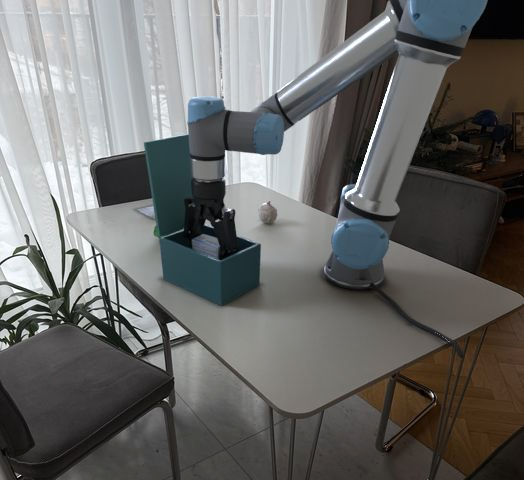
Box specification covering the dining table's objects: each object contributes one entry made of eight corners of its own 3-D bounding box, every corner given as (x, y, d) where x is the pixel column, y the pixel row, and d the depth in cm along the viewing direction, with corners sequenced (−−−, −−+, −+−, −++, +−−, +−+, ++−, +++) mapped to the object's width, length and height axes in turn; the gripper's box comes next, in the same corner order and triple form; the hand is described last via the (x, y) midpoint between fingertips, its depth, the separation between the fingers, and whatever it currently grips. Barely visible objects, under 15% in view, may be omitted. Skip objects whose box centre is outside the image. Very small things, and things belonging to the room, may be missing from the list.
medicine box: (229, 274, 116) (229, 241, 111) (218, 281, 113) (218, 247, 108) (204, 265, 119) (203, 233, 114) (193, 272, 116) (191, 238, 111)
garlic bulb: (254, 223, 150) (254, 198, 146) (262, 217, 155) (263, 192, 151) (272, 227, 148) (274, 202, 144) (281, 221, 153) (282, 196, 148)
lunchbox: (259, 284, 117) (261, 243, 111) (221, 306, 108) (220, 262, 102) (202, 261, 126) (201, 222, 120) (163, 279, 117) (159, 237, 111)
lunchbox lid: (193, 133, 109) (191, 133, 109) (145, 142, 100) (143, 142, 100) (202, 220, 120) (200, 220, 120) (160, 236, 111) (157, 235, 111)
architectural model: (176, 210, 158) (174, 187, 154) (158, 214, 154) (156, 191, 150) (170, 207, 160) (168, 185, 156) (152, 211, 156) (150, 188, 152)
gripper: (256, 184, 100) (253, 280, 113) (186, 165, 110) (192, 255, 123) (233, 192, 95) (233, 291, 108) (162, 171, 105) (170, 264, 118)
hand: (211, 272), depth 116 cm, fingers closed on medicine box, 8 cm apart
